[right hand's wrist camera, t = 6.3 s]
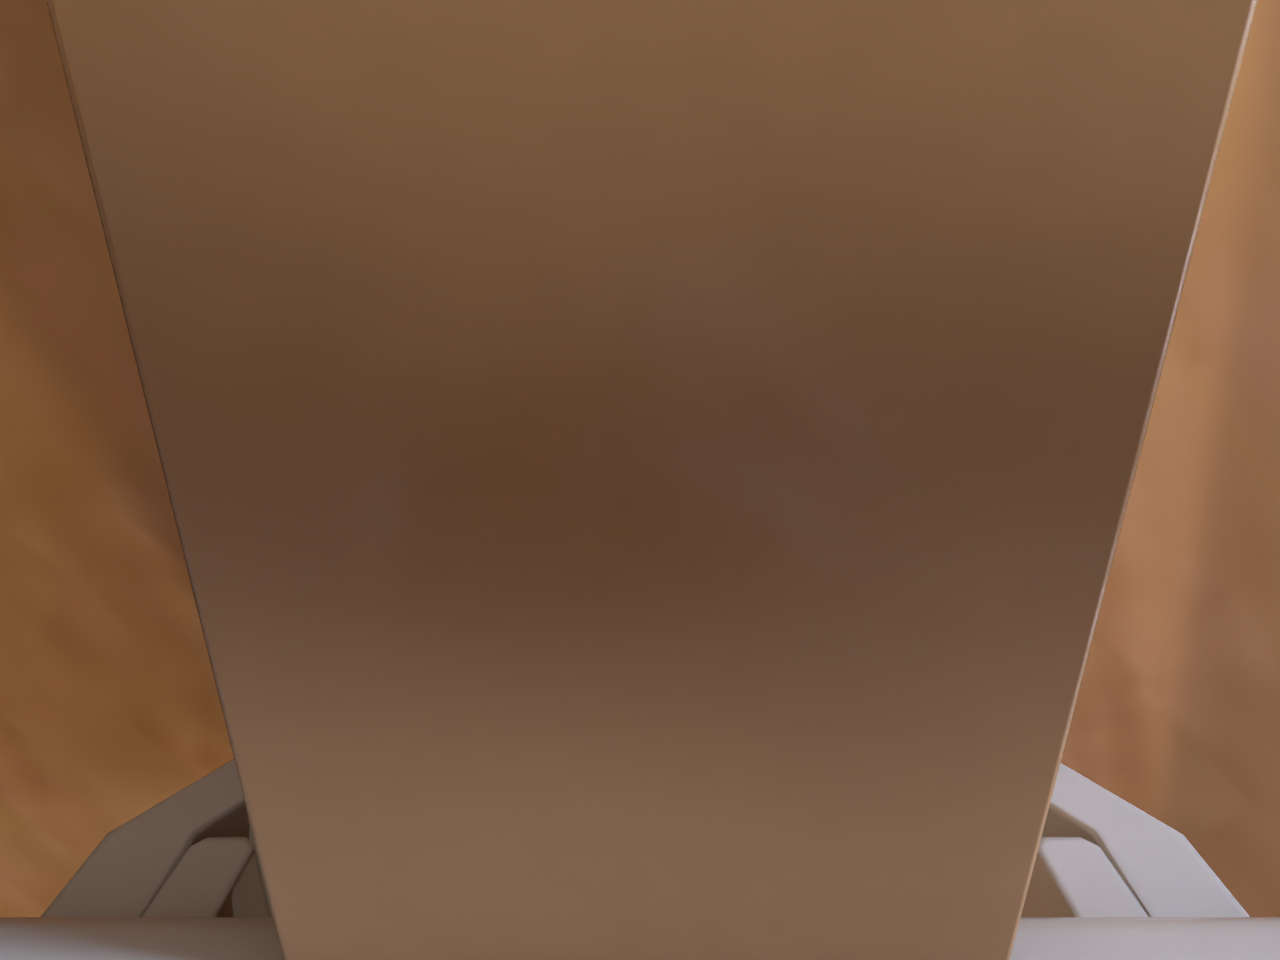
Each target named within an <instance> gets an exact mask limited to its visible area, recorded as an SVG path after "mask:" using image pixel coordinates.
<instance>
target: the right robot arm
mask: <svg viewBox="0 0 1280 960" xmlns="http://www.w3.org/2000/svg"><path fill="white" fill-rule="evenodd" d="M0 960H284V957H283V953H282V949H281V945H280V941H279V937H278V933H277V929H276V925H275V921H274V917H273V913H272V909H271V905H270V900H269V896H268V892H267V888H266V884H265V880H264V876H263V872H262V868H261V864H260V860H259V856H258V852H257V848H256V844H255V840H254V836H253V832H252V828H251V824H250V820H249V816H248V812H247V808H246V804H245V800H244V796H243V792H242V787H241V783H240V779H239V775H238V771H237V767H236V763H235V759H233V760H232V761H230V762H228V763H226V764H225V765H223V766H221V767H220V768H218V769H216V770H215V771H213V772H211V773H210V774H208V775H206V776H204V777H203V778H201V779H199V780H198V781H196V782H194V783H193V784H191V785H189V786H187V787H186V788H184V789H182V790H181V791H179V792H177V793H176V794H174V795H172V796H171V797H169V798H167V799H165V800H164V801H162V802H160V803H159V804H157V805H155V806H154V807H152V808H150V809H148V810H147V811H145V812H143V813H142V814H140V815H138V816H137V817H135V818H133V819H132V820H130V821H128V822H126V823H125V824H123V825H121V826H120V827H118V828H116V829H115V830H113V831H111V832H109V833H108V834H107V835H106V836H105V837H104V839H103V840H102V841H101V842H100V844H99V845H98V846H97V847H96V849H95V850H94V851H93V852H92V854H91V855H90V856H89V857H88V859H87V860H86V861H85V862H84V863H83V865H82V866H81V867H80V868H79V870H78V871H77V872H76V873H75V875H74V876H73V877H72V878H71V880H70V881H69V882H68V883H67V885H66V886H65V887H64V888H63V890H62V891H61V892H60V893H59V895H58V896H57V897H56V898H55V899H54V901H53V902H52V903H51V904H50V906H49V907H48V908H47V909H46V911H45V912H44V913H43V914H42V916H41V917H0ZM1010 960H1280V917H1250V916H1249V915H1248V914H1247V912H1246V911H1245V910H1244V909H1243V908H1242V906H1241V905H1240V904H1239V903H1238V901H1237V900H1236V899H1235V898H1234V896H1233V895H1232V894H1231V893H1230V892H1229V890H1228V889H1227V888H1226V887H1225V885H1224V884H1223V883H1222V882H1221V881H1220V879H1219V878H1218V877H1217V876H1216V874H1215V873H1214V872H1213V871H1212V869H1211V868H1210V867H1209V866H1208V865H1207V863H1206V862H1205V861H1204V860H1203V858H1202V857H1201V856H1200V855H1199V853H1198V852H1197V851H1196V850H1195V849H1194V847H1193V846H1192V845H1191V844H1190V842H1189V841H1188V840H1187V839H1186V837H1185V836H1184V835H1183V834H1181V833H1179V832H1178V831H1176V830H1174V829H1172V828H1171V827H1169V826H1167V825H1166V824H1164V823H1162V822H1161V821H1159V820H1157V819H1155V818H1154V817H1152V816H1150V815H1149V814H1147V813H1145V812H1143V811H1142V810H1140V809H1138V808H1137V807H1135V806H1133V805H1132V804H1130V803H1128V802H1126V801H1125V800H1123V799H1121V798H1120V797H1118V796H1116V795H1114V794H1113V793H1111V792H1109V791H1108V790H1106V789H1104V788H1103V787H1101V786H1099V785H1097V784H1096V783H1094V782H1092V781H1091V780H1089V779H1087V778H1085V777H1084V776H1082V775H1080V774H1079V773H1077V772H1075V771H1074V770H1072V769H1070V768H1068V767H1067V766H1065V765H1063V764H1062V763H1060V767H1059V771H1058V775H1057V778H1056V782H1055V786H1054V790H1053V794H1052V798H1051V802H1050V806H1049V809H1048V813H1047V817H1046V821H1045V825H1044V829H1043V833H1042V837H1041V840H1040V844H1039V848H1038V852H1037V856H1036V860H1035V864H1034V867H1033V871H1032V875H1031V879H1030V883H1029V887H1028V891H1027V895H1026V898H1025V902H1024V906H1023V910H1022V914H1021V918H1020V922H1019V926H1018V929H1017V933H1016V937H1015V941H1014V945H1013V949H1012V953H1011V957H1010Z"/></svg>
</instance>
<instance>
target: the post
mask: <svg viewBox="0 0 1280 960" xmlns="http://www.w3.org/2000/svg"><path fill="white" fill-rule="evenodd" d="M46 1H47V5H48V9H49V13H50V17H51V21H52V25H53V29H54V33H55V37H56V41H57V45H58V49H59V53H60V57H61V61H62V65H63V69H64V73H65V77H66V81H67V85H68V89H69V93H70V97H71V101H72V105H73V110H74V114H75V118H76V122H77V126H78V130H79V134H80V138H81V142H82V146H83V150H84V154H85V158H86V162H87V166H88V170H89V174H90V178H91V182H92V186H93V190H94V194H95V198H96V202H97V206H98V210H99V214H100V218H101V223H102V227H103V231H104V235H105V239H106V243H107V247H108V251H109V255H110V259H111V263H112V267H113V271H114V275H115V279H116V283H117V287H118V291H119V295H120V299H121V303H122V307H123V311H124V315H125V319H126V323H127V327H128V331H129V336H130V340H131V344H132V348H133V352H134V356H135V360H136V364H137V368H138V372H139V376H140V380H141V384H142V388H143V392H144V396H145V400H146V404H147V408H148V412H149V416H150V420H151V424H152V428H153V432H154V436H155V440H156V444H157V449H158V453H159V457H160V461H161V465H162V469H163V473H164V477H165V481H166V485H167V489H168V493H169V497H170V501H171V505H172V509H173V513H174V517H175V521H176V525H177V529H178V533H179V537H180V541H181V545H182V549H183V553H184V557H185V562H186V566H187V570H188V574H189V578H190V582H191V586H192V590H193V594H194V598H195V602H196V606H197V610H198V614H199V618H200V622H201V626H202V630H203V634H204V638H205V642H206V646H207V650H208V654H209V658H210V662H211V666H212V670H213V674H214V679H215V683H216V687H217V691H218V695H219V699H220V703H221V707H222V711H223V715H224V719H225V723H226V727H227V731H228V735H229V739H230V743H231V747H232V751H233V755H234V759H235V763H236V767H237V771H238V775H239V779H240V783H241V787H242V792H243V796H244V800H245V804H246V808H247V812H248V816H249V820H250V824H251V828H252V832H253V836H254V840H255V844H256V848H257V852H258V856H259V860H260V864H261V868H262V872H263V876H264V880H265V884H266V888H267V892H268V896H269V900H270V905H271V909H272V913H273V917H274V921H275V925H276V929H277V933H278V937H279V941H280V945H281V949H282V953H283V957H284V960H1010V957H1011V953H1012V949H1013V945H1014V941H1015V937H1016V933H1017V929H1018V926H1019V922H1020V918H1021V914H1022V910H1023V906H1024V902H1025V898H1026V895H1027V891H1028V887H1029V883H1030V879H1031V875H1032V871H1033V867H1034V864H1035V860H1036V856H1037V852H1038V848H1039V844H1040V840H1041V837H1042V833H1043V829H1044V825H1045V821H1046V817H1047V813H1048V809H1049V806H1050V802H1051V798H1052V794H1053V790H1054V786H1055V782H1056V778H1057V775H1058V771H1059V767H1060V763H1061V759H1062V755H1063V751H1064V747H1065V744H1066V740H1067V736H1068V732H1069V728H1070V724H1071V720H1072V716H1073V713H1074V709H1075V705H1076V701H1077V697H1078V693H1079V689H1080V686H1081V682H1082V678H1083V674H1084V670H1085V666H1086V662H1087V658H1088V655H1089V651H1090V647H1091V643H1092V639H1093V635H1094V631H1095V627H1096V624H1097V620H1098V616H1099V612H1100V608H1101V604H1102V600H1103V596H1104V593H1105V589H1106V585H1107V581H1108V577H1109V573H1110V569H1111V565H1112V562H1113V558H1114V554H1115V550H1116V546H1117V542H1118V538H1119V535H1120V531H1121V527H1122V523H1123V519H1124V515H1125V511H1126V507H1127V504H1128V500H1129V496H1130V492H1131V488H1132V484H1133V480H1134V476H1135V473H1136V469H1137V465H1138V461H1139V457H1140V453H1141V449H1142V445H1143V442H1144V438H1145V434H1146V430H1147V426H1148V422H1149V418H1150V414H1151V411H1152V407H1153V403H1154V399H1155V395H1156V391H1157V387H1158V384H1159V380H1160V376H1161V372H1162V368H1163V364H1164V360H1165V356H1166V353H1167V349H1168V345H1169V341H1170V337H1171V333H1172V329H1173V325H1174V322H1175V318H1176V314H1177V310H1178V306H1179V302H1180V298H1181V294H1182V291H1183V287H1184V283H1185V279H1186V275H1187V271H1188V267H1189V263H1190V260H1191V256H1192V252H1193V248H1194V244H1195V240H1196V236H1197V233H1198V229H1199V225H1200V221H1201V217H1202V213H1203V209H1204V205H1205V202H1206V198H1207V194H1208V190H1209V186H1210V182H1211V178H1212V174H1213V171H1214V167H1215V163H1216V159H1217V155H1218V151H1219V147H1220V143H1221V140H1222V136H1223V132H1224V128H1225V124H1226V120H1227V116H1228V112H1229V109H1230V105H1231V101H1232V97H1233V93H1234V89H1235V85H1236V82H1237V78H1238V74H1239V70H1240V66H1241V62H1242V58H1243V54H1244V51H1245V47H1246V43H1247V39H1248V35H1249V31H1250V27H1251V23H1252V20H1253V16H1254V12H1255V8H1256V4H1257V0H46Z"/></svg>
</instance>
